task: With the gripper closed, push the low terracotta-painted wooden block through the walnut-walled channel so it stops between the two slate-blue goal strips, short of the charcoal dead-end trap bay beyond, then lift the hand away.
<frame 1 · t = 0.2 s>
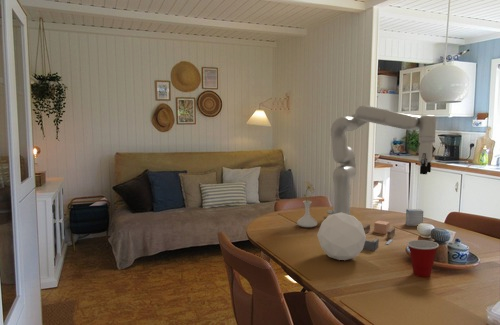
hand: (425, 173, 191), 31 cm above the table, tool pointing down, fingers open, 9 cm apart
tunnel: (378, 234, 189), on the table
ball: (340, 258, 156), on the table
medicine box: (414, 225, 206), on the table
trap bay: (363, 246, 170), on the table
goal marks: (372, 239, 181), on the table
plastic cup: (421, 274, 139), on the table
flower in vase: (306, 226, 205), on the table
block: (381, 232, 194), on the table
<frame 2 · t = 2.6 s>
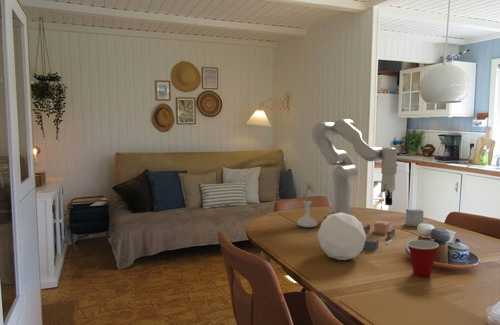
hand: (388, 204, 199), 13 cm above the table, tool pointing down, fingers closed
nothing on the table moved.
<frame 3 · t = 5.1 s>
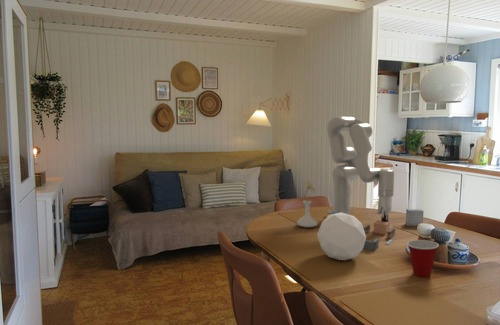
hand: (384, 227, 197), 1 cm above the table, tool pointing down, fingers closed
block: (381, 232, 193), on the table, touching gripper
everything else where it was.
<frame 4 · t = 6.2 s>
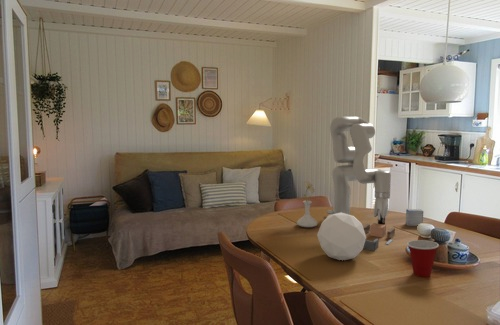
hand: (381, 229, 192), 1 cm above the table, tool pointing down, fingers closed
block: (377, 235, 188), on the table, touching gripper
everything else where it was.
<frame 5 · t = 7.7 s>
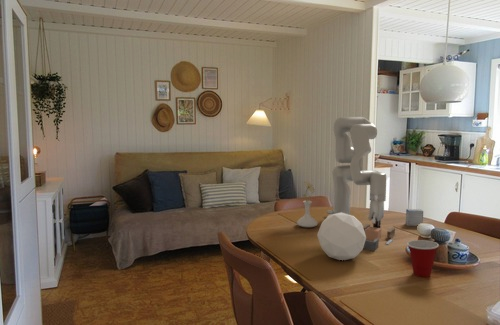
hand: (376, 233, 186), 1 cm above the table, tool pointing down, fingers closed
block: (373, 238, 182), on the table, touching gripper
everything else where it was.
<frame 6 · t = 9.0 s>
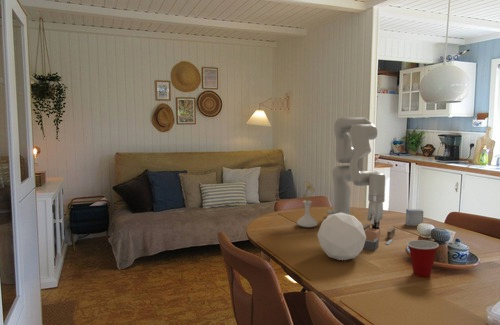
hand: (375, 234, 184), 1 cm above the table, tool pointing down, fingers closed
block: (371, 240, 180), on the table
everything else where it was.
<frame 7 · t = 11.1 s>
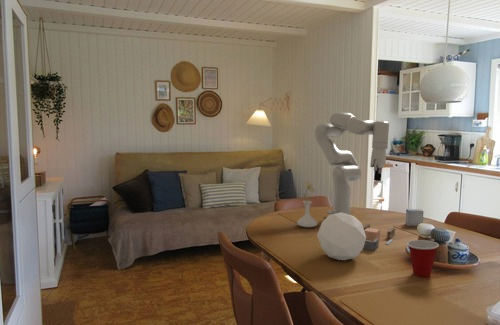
hand: (377, 180, 193), 26 cm above the table, tool pointing down, fingers closed
nothing on the table moved.
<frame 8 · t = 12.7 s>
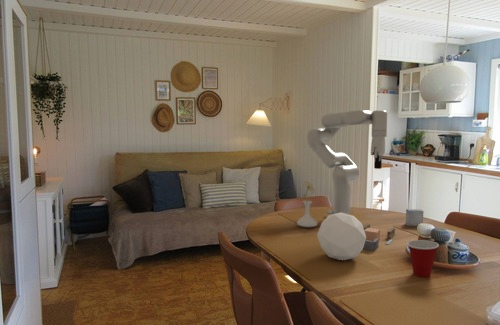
hand: (377, 168, 199), 32 cm above the table, tool pointing down, fingers closed
nothing on the table moved.
at the end: block inside the target area (0.4 cm from its centre), on the table; block tilted 0°; block touching table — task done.
